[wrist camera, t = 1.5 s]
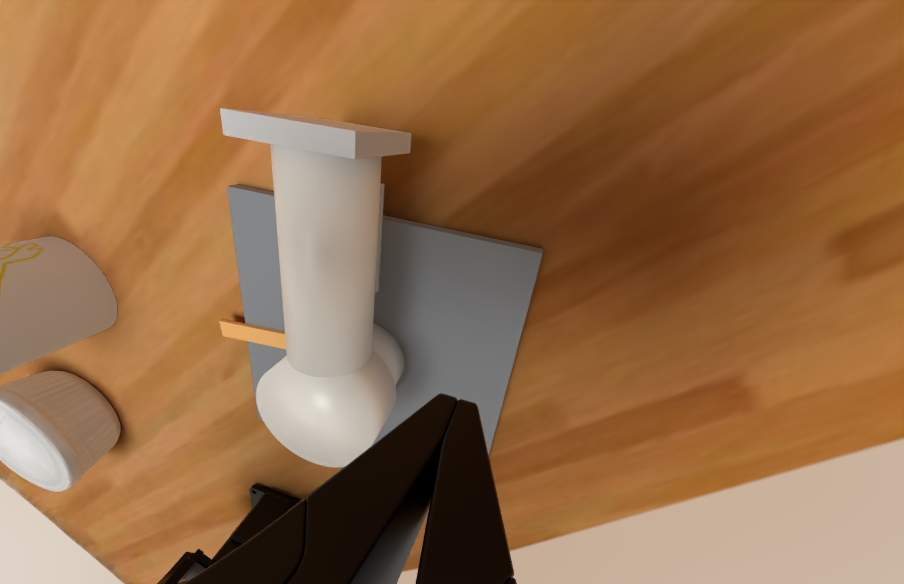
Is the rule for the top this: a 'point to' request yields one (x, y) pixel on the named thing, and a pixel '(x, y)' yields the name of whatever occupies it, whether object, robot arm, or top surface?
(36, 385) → the ramekin
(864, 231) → the top surface
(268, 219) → the grey square panel
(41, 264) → the cup
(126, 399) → the top surface
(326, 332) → the elbow
